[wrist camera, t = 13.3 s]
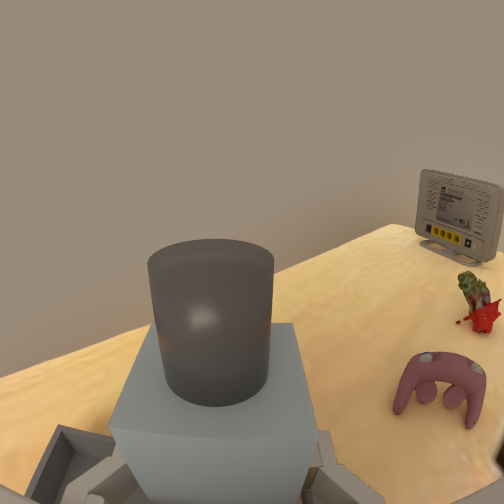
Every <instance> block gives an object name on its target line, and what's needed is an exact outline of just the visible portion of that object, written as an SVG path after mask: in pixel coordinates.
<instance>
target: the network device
mask: <svg viewBox="0 0 504 504" xmlns="http://www.w3.org/2000/svg"><path fill="white" fill-rule="evenodd" d="M503 214H504V187H503V186H500V185H497V184H493V183H489V182H485V181H481V180H476V179H472V178H468V177H464V176H459V175H454V174H450V173H445V172H440V171H435V170H428V169H423V170H422V171H421V173H420V184H419V195H418V205H417V214H416V223H415V232H416V234H417V235H420V236H422V237H425V238H427V239H430V240H425V241H421V242H420V246H422V247H424V248H426V249H428V250H431V251H433V252H435V253H437V254H440V255H442V256H444V257H447V258H449V259H451V260H453V261H455V262H458V263H460V264H462V265H465V266H468V267H477V266H479V265H482V263H483V262H488V261H491V260H493V259H494V258H495V256H496V251H497V247H498V242H499V237H500V232H501V225H502V220H503ZM430 243H437V244H440V245H442V246H445V247H446V249H445V250H437V249H435V248H432V247H430V246H428V245H425V244H430ZM457 254H463V255H466V256H468V257H470V258H473V259H475V260H477V261H476V262H473V263H467V262H464V261H462V260H460V259H458V258H455V257H453V255H457Z"/></svg>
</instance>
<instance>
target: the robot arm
mask: <svg viewBox="0 0 504 504" xmlns="http://www.w3.org/2000/svg"><path fill="white" fill-rule="evenodd" d="M318 434H319V437H318V440H317V444H316V447H315V450H314V453H313V457H312V460H311V463H310V466H309V469H308V472H307V475H306V478H305V481H304V484H303V487H302V489H310V490H311V491H312V492H313V494H314V495H315V496H316V497H317V498H318V499H319V500H320V501H321V502H322V503H323V504H386V503H385V500H384V497H383V496H381V495H380V494H379V493H377V492H376V491H375V490H373V489H372V488H371V487H369V486H368V485H367V484H366V483H364V482H363V481H362V480H361V479H359V478H358V477H357V476H356V475H354V474H353V473H352V472H351V471H349V470H348V469H347V468H346V467H345V466H343V465H342V464H337V460H336V456H335V452H334V448H333V444H332V440H331V436H330V432H329V431H328V430H323V431H318ZM139 487H140V485H139V483H138V482H137V480H136V478H135V477H134V475H133V473H132V471H131V470H130V468H129V466H128V464H127V462H126V461H125V459H124V457H123V455H122V453H121V451H120V449H119V448H118V446H117V444H116V445H115V448H114V451H113V454H112V457H109V456H108V457H106V458H105V459H104V460H102V461H101V462H100V463H98V464H97V465H95V466H94V467H93V468H91V469H90V470H88V471H87V472H85V473H84V474H83V475H81V476H80V477H78V478H77V479H75V480H74V481H72V482H71V483H69V484H68V485H67V487H66V489H65V492H64V495H63V497H62V500H61V503H60V504H122V503H124V502H125V501H126V500H127V499H128V498H129V497H130V496H131V495H132V494H133V493H134V492H135V491H136V490H137V489H138V488H139ZM0 504H40V503H38V502H36V501H34V500H31V499H29V498H27V497H25V496H23V495H21V494H19V493H17V492H15V491H13V490H11V489H9V488H7V487H6V486H4V485H2V484H0ZM451 504H504V477H502V478H500V479H498V480H497V481H495V482H493V483H491V484H490V485H488V486H486V487H484V488H482V489H480V490H478V491H476V492H474V493H472V494H470V495H468V496H466V497H464V498H462V499H460V500H458V501H455V502H453V503H451Z"/></svg>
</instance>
